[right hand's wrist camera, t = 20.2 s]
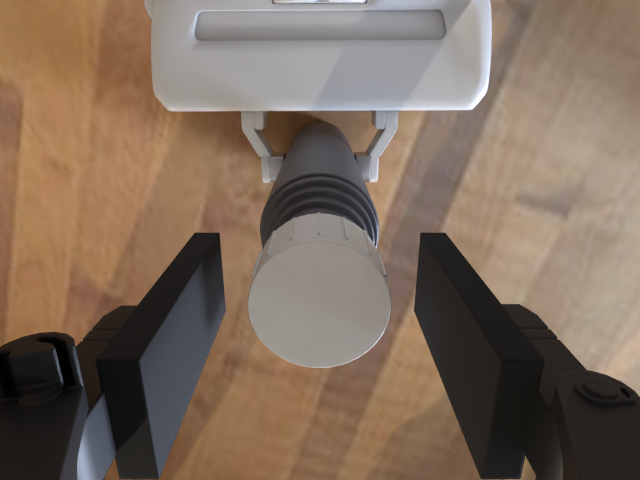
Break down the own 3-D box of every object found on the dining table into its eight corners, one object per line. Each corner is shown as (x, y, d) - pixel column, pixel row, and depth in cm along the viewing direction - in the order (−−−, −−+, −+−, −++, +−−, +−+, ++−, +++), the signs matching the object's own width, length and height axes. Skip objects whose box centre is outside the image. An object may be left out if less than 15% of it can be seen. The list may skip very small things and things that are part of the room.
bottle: (290, 181, 37) (239, 367, 13) (289, 121, 35) (229, 216, 12) (348, 182, 37) (398, 368, 13) (350, 121, 35) (409, 216, 12)
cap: (300, 187, 13) (296, 211, 11) (405, 253, 14) (422, 289, 12) (235, 286, 15) (220, 326, 12) (336, 343, 15) (338, 391, 13)
